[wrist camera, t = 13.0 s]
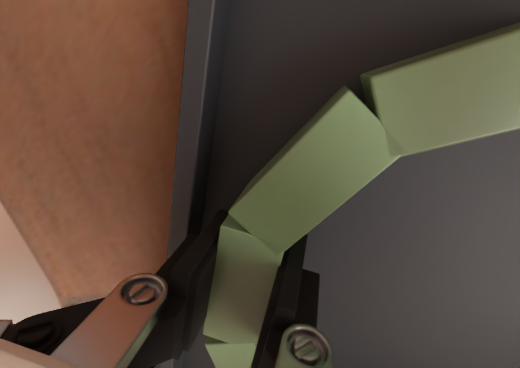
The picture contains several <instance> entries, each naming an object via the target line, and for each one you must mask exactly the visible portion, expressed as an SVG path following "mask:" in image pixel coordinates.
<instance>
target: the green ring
mask: <svg viewBox="0 0 520 368" xmlns="http://www.w3.org/2000/svg"><path fill="white" fill-rule="evenodd" d="M360 79H361V84H362V89H363V93H364V98H365V102H366V104H365V103H364V102H363V101H362V100H361V99H360V98H359V97H358V96H357V95H356V94H355V93H354V92H353V91H352V90H351V89H350V88H349V87H348V86H347V85H343V86H342V87H341V88H340V89H339V90H338V91H337V92H336V93H335V94H334V95H333V96H332V97H331V98H330V99H329V100H328V101H327V102H326V103H325V104H324V105H323V106H322V107H321V108H320V109H319V110H318V112H317V113H316V114H315V115H314V116H313V117H312V118H311V119H310V120H309V121H308V122H307V123H306V124H305V125H304V126H303V127H302V128H301V129H300V130H299V131H298V132H297V133H296V134H295V135H294V136H293V137H292V138H291V139H290V140H289V141H288V142H287V143H286V145H285V146H284V147H283V148H282V149H281V150H280V151H279V152H278V153H277V154H276V155H275V156H274V157H273V158H272V159H271V160H270V161H269V162H268V163H267V164H266V165H265V166H264V167H263V168H262V169H261V170H260V171H259V172H258V173H257V174H256V175H255V176H254V178H253V179H252V180H251V181H250V182H249V183H248V185H247V186H246V187H245V189H244V190H243V192H242V193H241V194H240V196H239V197H238V198H237V200H236V201H235V203H234V204H233V205H232V207H231V208H230V210H229V211H228V214H229V215H228V216H227V218H226V219H225V221H224V222H223V223H222V225H221V226H220V232H219V239H218V245H217V247H218V251H217V257H216V262H215V268H214V274H213V280H212V286H211V292H210V298H209V304H208V310H207V316H206V319H205V323H204V329H203V334H204V335H206V336H208V339H207V341H206V343H205V346H206V348H207V350H208V353H209V355H210V357H211V359H212V361H213V363H214V365H215V367H216V368H251V364H252V361H253V357H254V353H255V350H256V346H257V342H258V339H259V335H260V331H261V328H262V324H263V320H264V317H265V313H266V310H267V306H268V302H269V299H270V295H271V291H272V288H273V284H274V280H275V277H276V273H277V270H278V266H280V265H281V261H282V258H283V254H284V252H285V251H286V250H287V249H288V248H290V247H291V246H292V245H293V244H294V243H296V242H297V241H298V240H299V239H301V238H302V237H303V236H304V235H305V234H307V233H308V232H309V231H310V230H312V229H313V228H314V227H315V226H316V225H318V224H319V223H320V222H321V221H323V220H324V219H325V218H326V217H327V216H329V215H330V214H331V213H332V212H334V211H335V210H336V209H337V208H338V207H340V206H341V205H342V204H343V203H345V202H346V201H347V200H348V199H349V198H351V197H352V196H353V195H354V194H356V193H357V192H358V191H359V190H360V189H362V188H363V187H364V186H365V185H367V184H368V183H369V182H370V181H371V180H373V179H374V178H375V177H376V176H378V175H379V174H380V173H381V172H382V171H384V170H385V169H386V168H387V167H389V166H390V165H391V164H392V163H393V162H395V161H396V160H397V159H398V158H400V157H404V156H408V155H412V154H416V153H421V152H425V151H429V150H433V149H438V148H442V147H446V146H451V145H455V144H459V143H463V142H468V141H472V140H476V139H480V138H485V137H489V136H493V135H498V134H502V133H506V132H510V131H515V130H519V129H520V22H518V23H515V24H512V25H509V26H506V27H503V28H500V29H497V30H493V31H490V32H487V33H484V34H481V35H478V36H475V37H472V38H469V39H466V40H463V41H460V42H457V43H454V44H451V45H448V46H445V47H442V48H438V49H435V50H432V51H429V52H426V53H423V54H420V55H417V56H414V57H411V58H408V59H405V60H402V61H399V62H396V63H393V64H390V65H386V66H383V67H380V68H377V69H374V70H371V71H368V72H365V73H362V74H361V75H360Z"/></svg>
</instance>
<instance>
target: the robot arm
mask: <svg viewBox="0 0 520 368" xmlns="http://www.w3.org/2000/svg"><path fill="white" fill-rule="evenodd" d="M228 215H229V214H228V211H226V210H223V209H219V210H218V212H217V213H216V214H215V216H214V217H213V218H212V219H211V221H210V222H209V223H208V224H207V226H206V227H205V228H204V229H203V231H202V232H201V233H200V235H199V236H195V235H191V234H190V235H188V236H187V237H186V239H185V240H184V241H183V242H182V243H181V244H180V246H179V247H178V248H177V249H176V250H175V251H174V253H173V254H172V255H171V256H170V257H169V259H168V260H167V261H166V262H165V263H164V264H163V266H162V267H161V268H160V269H159V270H158V271H157V273H156V274H152V273H139V274H134V275H131V276H129V277H127V278H125V279H124V280H123V281H121V282H120V283H119V284H118V285H117V286H116V287H115V288H114V289H113V290H112V292H111V293H110V294H109V295H108V296H107V297H105V298H101V299H97V300H93V301H89V302H85V303H81V304H77V305H73V306H69V307H65V308H61V309H57V310H53V311H49V312H46V313H41V314H37V315H34V316H31V317H28V318H26V319H24V320H22V321H20V322H18V323H16V324H13V323H12V320H0V368H160V366H161V363H163V362H166V361H168V360H171V359H175V360H177V361H178V360H179V358H180V356H181V354H182V352H183V351H186V352H189V350H190V349H191V347H192V345H193V343H194V341H195V339H196V337H197V335H198V333H199V331H200V329H201V327H202V325H203V323H204V321H205V319H206V316H207V310H208V304H209V298H210V292H211V286H212V280H213V274H214V268H215V262H216V257H217V251H218V247H217V245H218V239H219V232H220V226H221V225H222V223H223V222H224V221H225V219H226V218H227V216H228ZM307 236H308V234H305V235H304V236H303V237H302V238H301V239H299V240H298V241H297V242H296V243H294V244H293V245H292V246H291V247H290V248H288V249H287V250H286V251H285V252H284V254H283V258H282V261H281V265H280V266H278V270H277V273H276V277H275V280H274V284H273V288H272V291H271V295H270V299H269V302H268V306H267V310H266V313H265V317H264V320H263V324H262V328H261V331H260V335H259V339H258V342H257V346H256V350H255V353H254V357H253V361H252V364H251V368H334V352H333V347H332V345H331V343H330V341H329V339H328V338H327V337H326V336H325V334H324V333H322V332H321V331H320V330H318V329H317V317H318V301H319V284H320V274H319V273H316V272H313V271H309V270H306V269H303V263H304V257H305V250H306V243H307Z"/></svg>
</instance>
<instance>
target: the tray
mask: <svg viewBox="0 0 520 368" xmlns="http://www.w3.org/2000/svg"><path fill="white" fill-rule="evenodd" d="M518 22H520V0H189V4H188V15H187V27H186V39H185V51H184V63H183V75H182V87H181V99H180V110H179V122H178V134H177V146H176V158H175V170H174V182H173V194H172V205H171V217H170V229H169V241H168V253H167V260H168V259H169V257H170V256H171V255H172V254H173V253H174V251H175V250H176V249H177V248H178V247H179V246H180V244H181V243H182V242H183V241H184V240H185V239H186V237H187V236H188V235H190V234H191V235H195V236H199V235H200V233H201V232H202V231H203V229H204V228H205V227H206V226H207V224H208V223H209V222H210V221H211V219H212V218H213V217H214V216H215V214H216V213H217V212H218V210H219V209H223V210H226V211H229V210H230V208H231V207H232V205H233V204H234V203H235V201H236V200H237V198H238V197H239V196H240V194H241V193H242V192H243V190H244V189H245V187H246V186H247V185H248V183H249V182H250V181H251V180H252V179H253V178H254V176H255V175H256V174H257V173H258V172H259V171H260V170H261V169H262V168H263V167H264V166H265V165H266V164H267V163H268V162H269V161H270V160H271V159H272V158H273V157H274V156H275V155H276V154H277V153H278V152H279V151H280V150H281V149H282V148H283V147H284V146H285V145H286V143H287V142H288V141H289V140H290V139H291V138H292V137H293V136H294V135H295V134H296V133H297V132H298V131H299V130H300V129H301V128H302V127H303V126H304V125H305V124H306V123H307V122H308V121H309V120H310V119H311V118H312V117H313V116H314V115H315V114H316V113H317V112H318V110H319V109H320V108H321V107H322V106H323V105H324V104H325V103H326V102H327V101H328V100H329V99H330V98H331V97H332V96H333V95H334V94H335V93H336V92H337V91H338V90H339V89H340V88H341V87H342V86H343V85H347V86H348V87H349V88H350V89H351V90H352V91H353V92H354V93H355V94H356V95H357V96H358V97H359V98H360V99H361V100H362V101H363V102H364V103H365V104H366V102H365V98H364V93H363V89H362V84H361V79H360V75H361V74H362V73H365V72H368V71H371V70H374V69H377V68H380V67H383V66H386V65H390V64H393V63H396V62H399V61H402V60H405V59H408V58H411V57H414V56H417V55H420V54H423V53H426V52H429V51H432V50H435V49H438V48H442V47H445V46H448V45H451V44H454V43H457V42H460V41H463V40H466V39H469V38H472V37H475V36H478V35H481V34H484V33H487V32H490V31H493V30H497V29H500V28H503V27H506V26H509V25H512V24H515V23H518ZM307 234H308V236H307V243H306V250H305V257H304V263H303V269H306V270H309V271H313V272H316V273H319V274H320V284H319V301H318V317H317V329H318V330H320V331H321V332H322V333H324V334H325V336H326V337H327V338H328V339H329V341H330V343H331V345H332V347H333V352H334V368H520V129H519V130H515V131H510V132H506V133H502V134H498V135H493V136H489V137H485V138H480V139H476V140H472V141H468V142H463V143H459V144H455V145H451V146H446V147H442V148H438V149H433V150H429V151H425V152H421V153H416V154H412V155H408V156H404V157H400V158H398V159H397V160H396V161H395V162H393V163H392V164H391V165H390V166H389V167H387V168H386V169H385V170H384V171H382V172H381V173H380V174H379V175H378V176H376V177H375V178H374V179H373V180H371V181H370V182H369V183H368V184H367V185H365V186H364V187H363V188H362V189H360V190H359V191H358V192H357V193H356V194H354V195H353V196H352V197H351V198H349V199H348V200H347V201H346V202H345V203H343V204H342V205H341V206H340V207H338V208H337V209H336V210H335V211H334V212H332V213H331V214H330V215H329V216H327V217H326V218H325V219H324V220H323V221H321V222H320V223H319V224H318V225H316V226H315V227H314V228H313V229H312V230H310V231H309V232H308V233H307ZM204 323H205V321H204ZM204 323H203V325H202V327H201V329H200V331H199V333H198V335H197V337H196V339H195V341H194V343H193V345H192V347H191V349H190V350H189V352H186V351H183V352H182V354H181V356H180V358H179V360H178V361H177V360H175V359H171V360H168V361H166V362H163V363H161V366H160V368H216V367H215V365H214V363H213V361H212V359H211V357H210V355H209V353H208V350H207V348H206V346H205V343H206V341H207V339H208V336H206V335H204V334H203V329H204Z"/></svg>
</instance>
